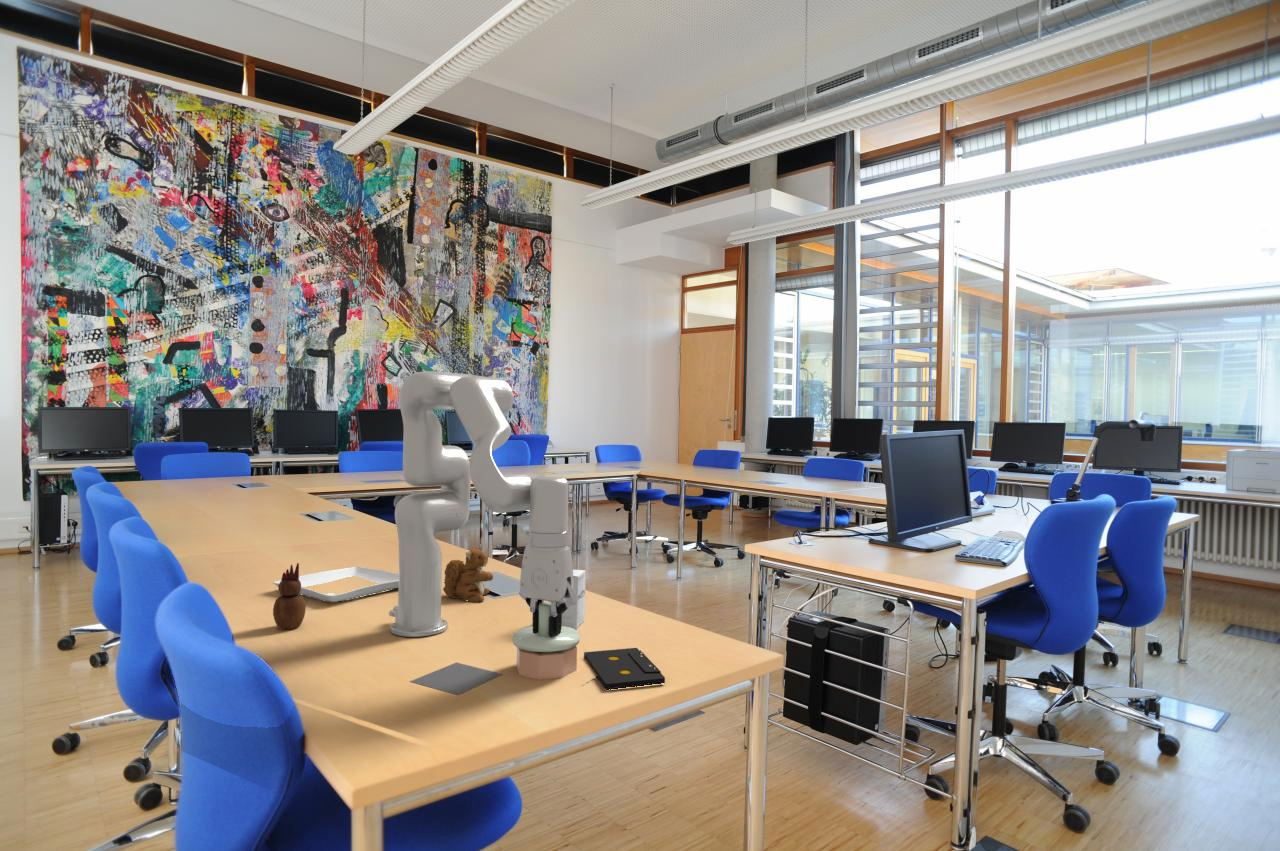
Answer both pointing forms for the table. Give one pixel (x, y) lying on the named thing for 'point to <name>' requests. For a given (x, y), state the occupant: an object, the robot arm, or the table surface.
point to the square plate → (374, 575)
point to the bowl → (546, 663)
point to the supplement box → (577, 611)
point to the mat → (456, 678)
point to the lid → (545, 635)
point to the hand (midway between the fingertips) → (546, 632)
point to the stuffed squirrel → (467, 577)
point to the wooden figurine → (289, 601)
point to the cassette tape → (623, 668)
